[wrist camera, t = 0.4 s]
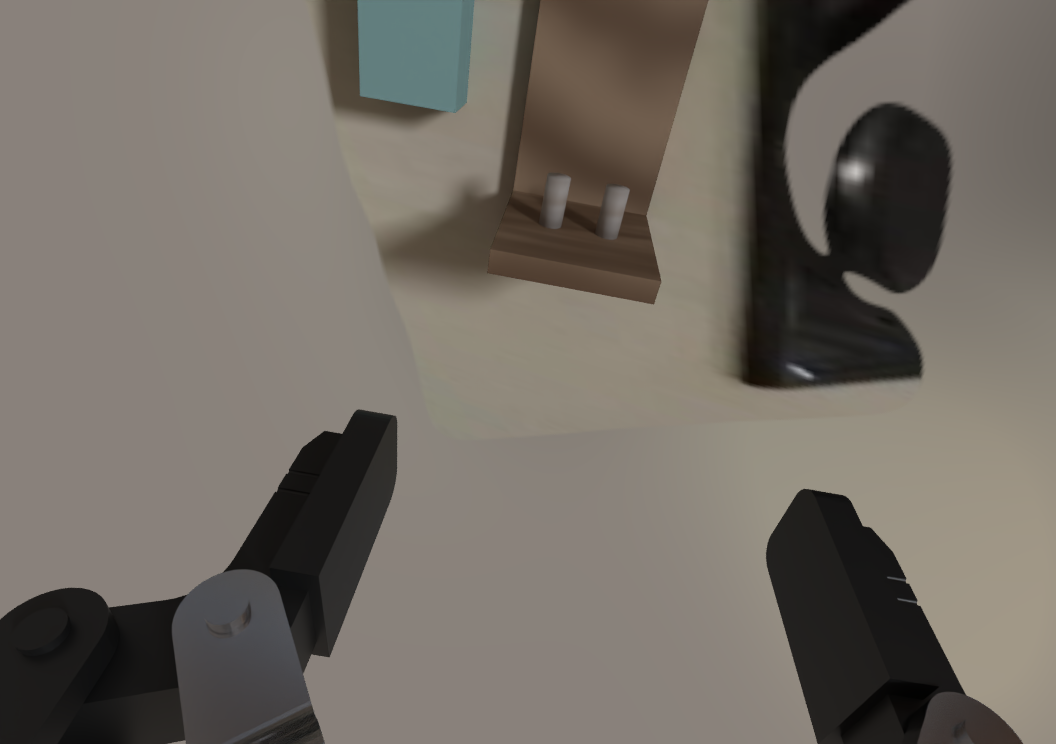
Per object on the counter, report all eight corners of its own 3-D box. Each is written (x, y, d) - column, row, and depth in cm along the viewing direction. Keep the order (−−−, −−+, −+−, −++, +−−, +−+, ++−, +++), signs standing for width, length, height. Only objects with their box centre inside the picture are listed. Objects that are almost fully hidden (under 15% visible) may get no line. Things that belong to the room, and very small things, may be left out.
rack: (604, -435, 21) (612, -708, 13) (816, -391, 21) (960, -634, 13) (508, 232, 36) (483, 306, 27) (631, 255, 36) (643, 336, 28)
